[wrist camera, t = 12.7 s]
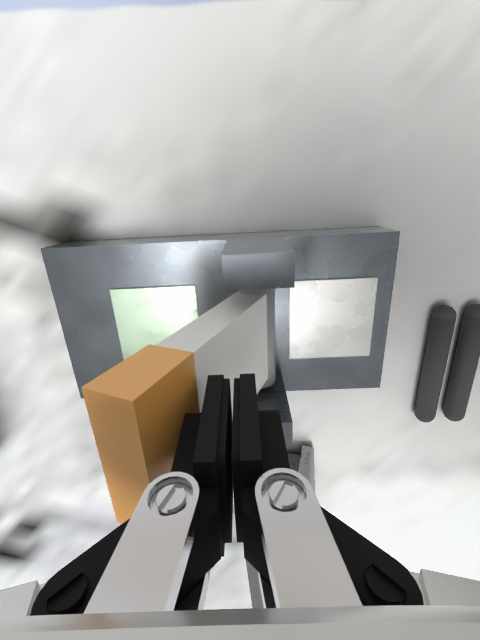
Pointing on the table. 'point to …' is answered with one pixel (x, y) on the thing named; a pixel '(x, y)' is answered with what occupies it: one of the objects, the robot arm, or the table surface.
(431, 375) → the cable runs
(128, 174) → the table surface
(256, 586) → the electrical switch
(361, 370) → the double window frame
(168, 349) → the breaker lever
